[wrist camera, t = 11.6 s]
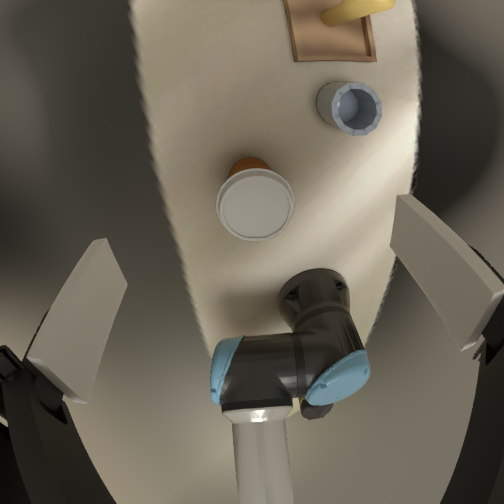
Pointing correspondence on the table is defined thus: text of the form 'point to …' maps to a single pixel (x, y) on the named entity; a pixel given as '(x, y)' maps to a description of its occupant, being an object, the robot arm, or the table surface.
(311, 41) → the tray
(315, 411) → the coffee jar
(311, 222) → the table surface
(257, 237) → the disposable coffee cup
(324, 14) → the dowel
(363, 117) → the pen cup
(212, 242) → the table surface
